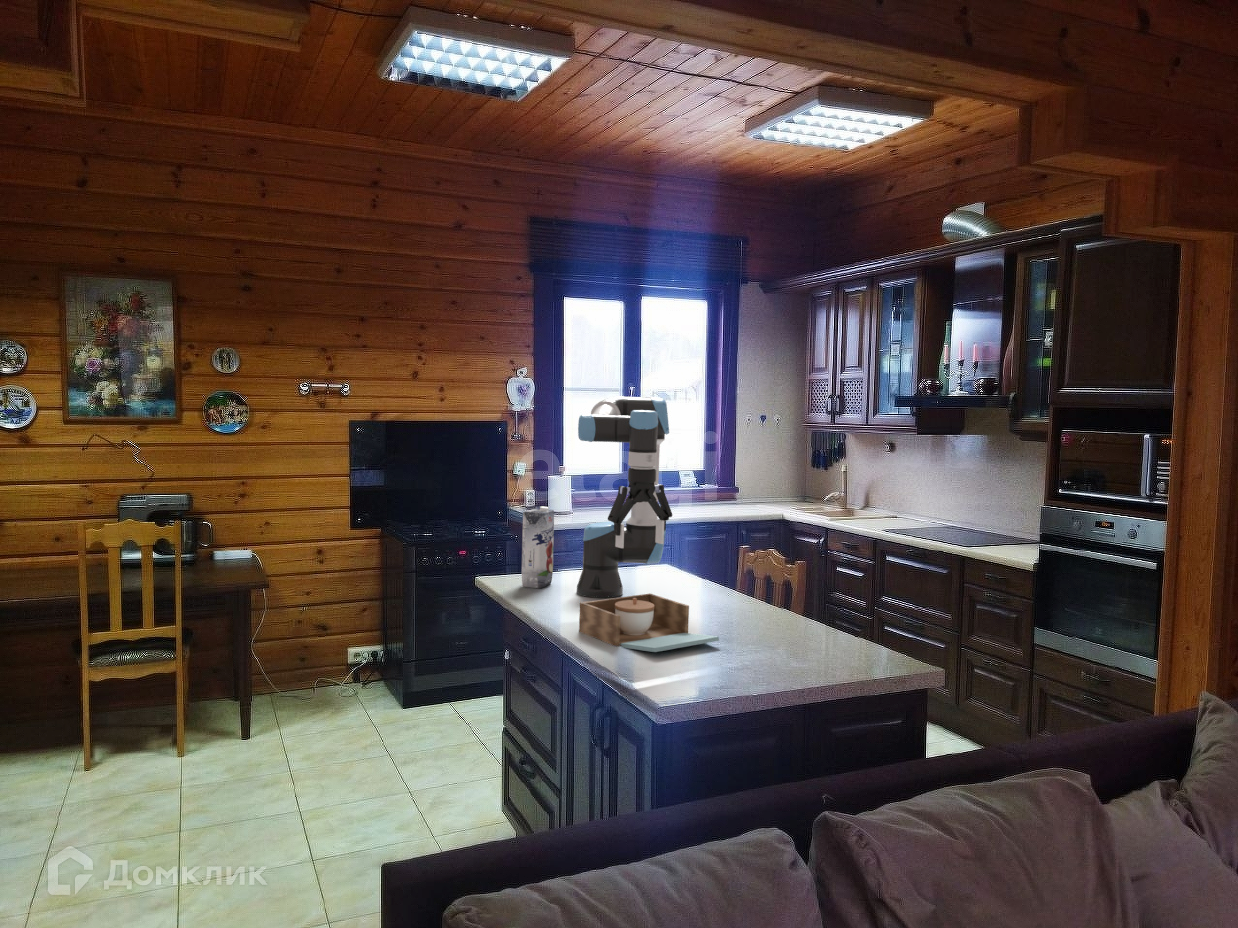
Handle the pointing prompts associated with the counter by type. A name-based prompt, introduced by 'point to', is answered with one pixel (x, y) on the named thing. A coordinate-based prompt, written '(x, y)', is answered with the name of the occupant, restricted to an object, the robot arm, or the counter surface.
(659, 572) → the counter surface
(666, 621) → the open wooden tray
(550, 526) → the juice carton
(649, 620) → the lidded jar
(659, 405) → the robot arm
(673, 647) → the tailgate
